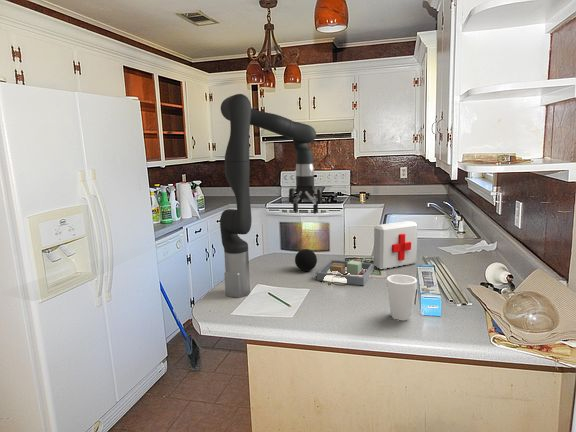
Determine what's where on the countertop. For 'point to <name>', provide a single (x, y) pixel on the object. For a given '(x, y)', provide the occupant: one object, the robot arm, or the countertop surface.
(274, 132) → the robot arm
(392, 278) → the foam cup
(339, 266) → the walnut block
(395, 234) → the bevelled white case
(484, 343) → the countertop surface
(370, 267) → the tray
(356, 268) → the sage green block
